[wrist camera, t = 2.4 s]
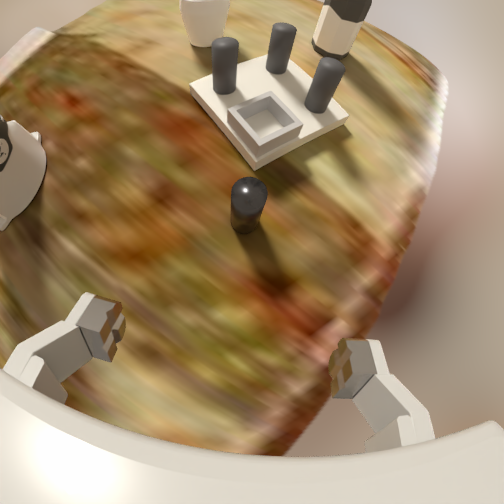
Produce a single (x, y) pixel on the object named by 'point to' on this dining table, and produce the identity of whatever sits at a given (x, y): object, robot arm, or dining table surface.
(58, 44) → the dining table surface
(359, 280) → the dining table surface
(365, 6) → the wine bottle
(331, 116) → the white board with pegs
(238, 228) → the dark rounded cylinder
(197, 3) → the cup
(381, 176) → the dining table surface
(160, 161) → the dining table surface
